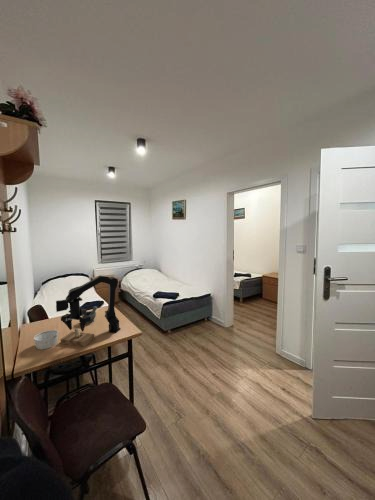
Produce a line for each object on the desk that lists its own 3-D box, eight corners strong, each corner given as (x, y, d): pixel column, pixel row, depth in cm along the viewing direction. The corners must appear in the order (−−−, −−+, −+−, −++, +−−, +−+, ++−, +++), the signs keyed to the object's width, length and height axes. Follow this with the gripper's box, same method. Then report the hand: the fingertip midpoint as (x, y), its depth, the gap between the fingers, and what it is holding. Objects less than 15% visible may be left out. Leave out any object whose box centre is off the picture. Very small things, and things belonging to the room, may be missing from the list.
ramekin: (55, 337, 144) (54, 327, 143) (62, 343, 136) (61, 333, 135) (32, 346, 134) (30, 335, 133) (38, 353, 125) (37, 342, 125)
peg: (81, 339, 140) (80, 328, 139) (78, 342, 137) (77, 330, 136) (77, 339, 141) (76, 328, 140) (74, 341, 138) (73, 330, 137)
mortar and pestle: (82, 325, 160) (81, 310, 158) (82, 320, 168) (81, 306, 166) (98, 322, 164) (97, 307, 163) (98, 317, 173) (96, 304, 171)
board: (94, 338, 141) (94, 334, 141) (84, 346, 132) (84, 342, 131) (72, 335, 146) (72, 331, 145) (60, 343, 136) (60, 339, 135)
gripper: (95, 304, 141) (96, 326, 143) (72, 302, 146) (74, 323, 148) (83, 311, 131) (85, 334, 133) (59, 308, 135) (61, 331, 137)
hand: (76, 330), depth 138 cm, fingers open, 9 cm apart
